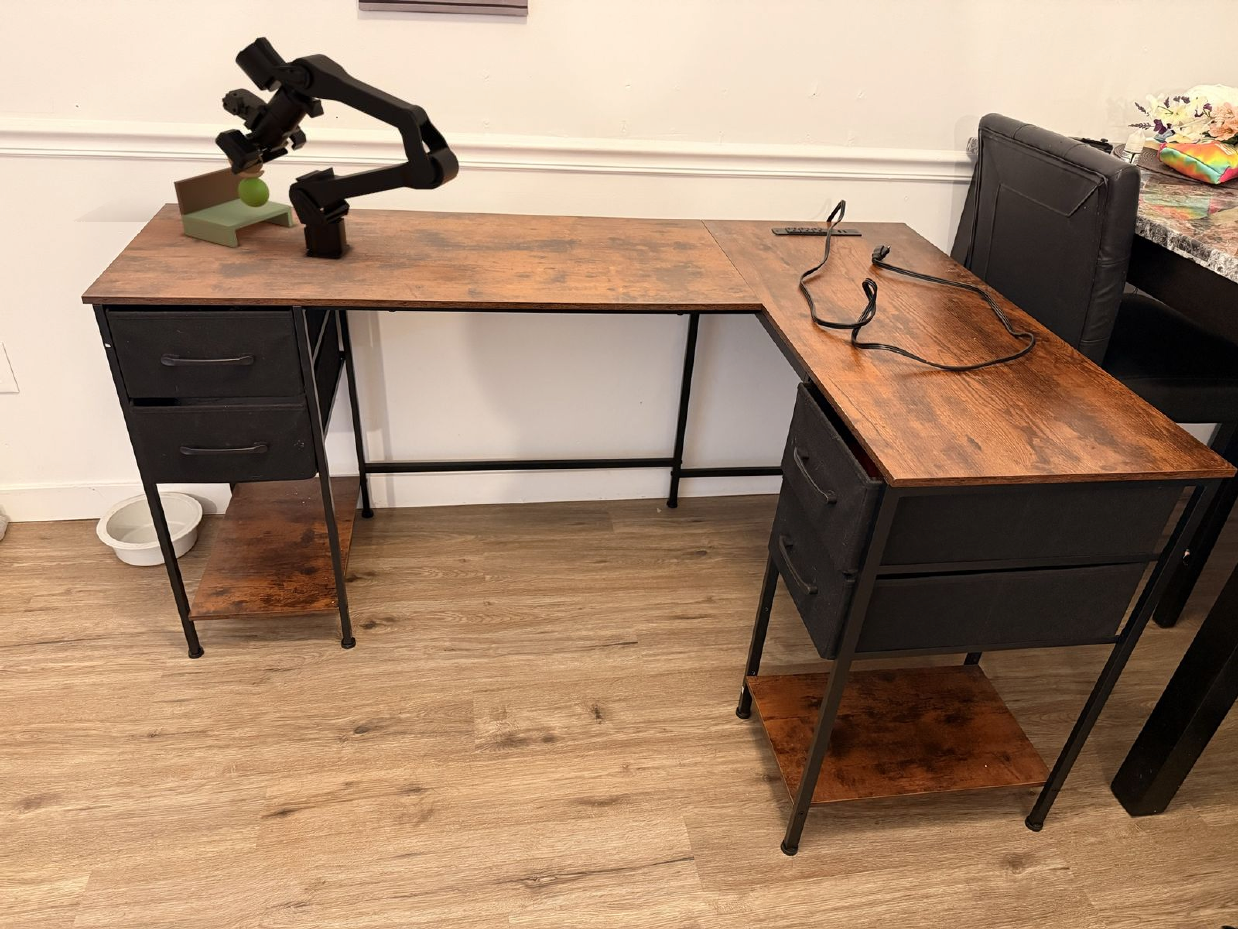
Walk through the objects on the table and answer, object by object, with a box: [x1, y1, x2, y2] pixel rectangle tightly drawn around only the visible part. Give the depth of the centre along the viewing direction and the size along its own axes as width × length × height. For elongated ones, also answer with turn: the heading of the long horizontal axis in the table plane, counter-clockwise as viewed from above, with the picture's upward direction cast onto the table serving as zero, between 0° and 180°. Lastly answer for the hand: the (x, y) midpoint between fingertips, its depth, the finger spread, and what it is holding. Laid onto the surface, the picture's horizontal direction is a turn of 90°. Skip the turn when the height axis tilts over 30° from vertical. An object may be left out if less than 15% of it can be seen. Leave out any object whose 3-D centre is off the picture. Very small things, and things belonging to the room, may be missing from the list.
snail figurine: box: [225, 154, 271, 207], centre depth 156 cm, size 5×6×12 cm
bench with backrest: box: [173, 166, 295, 248], centre depth 164 cm, size 12×16×10 cm
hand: (240, 169), depth 156 cm, fingers closed on snail figurine, 4 cm apart
